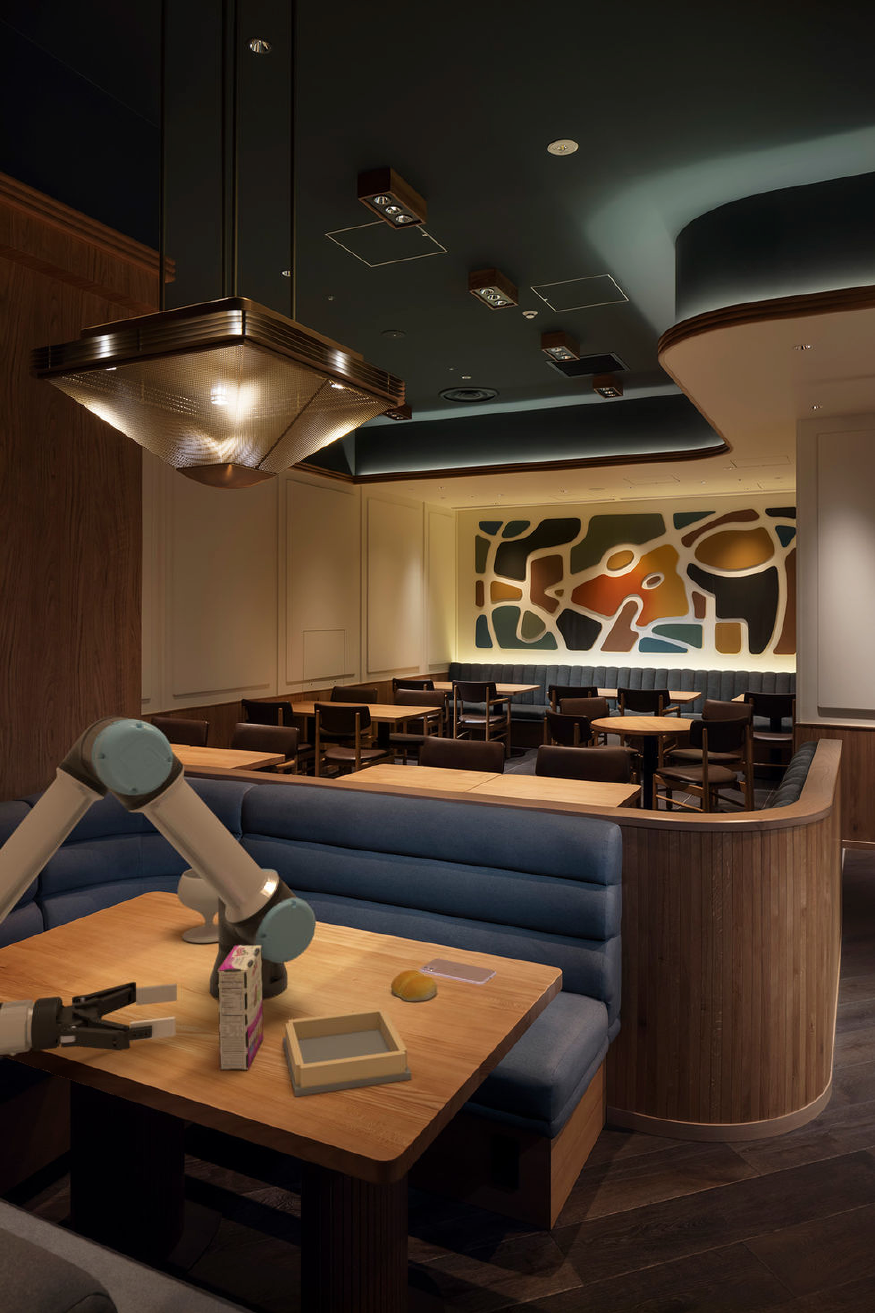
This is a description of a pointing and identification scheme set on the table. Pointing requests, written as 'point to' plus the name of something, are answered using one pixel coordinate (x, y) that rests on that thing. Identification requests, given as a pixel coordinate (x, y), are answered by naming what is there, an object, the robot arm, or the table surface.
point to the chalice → (199, 906)
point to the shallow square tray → (344, 1052)
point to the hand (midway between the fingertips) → (176, 1008)
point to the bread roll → (413, 986)
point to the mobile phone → (458, 971)
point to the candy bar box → (240, 1007)
